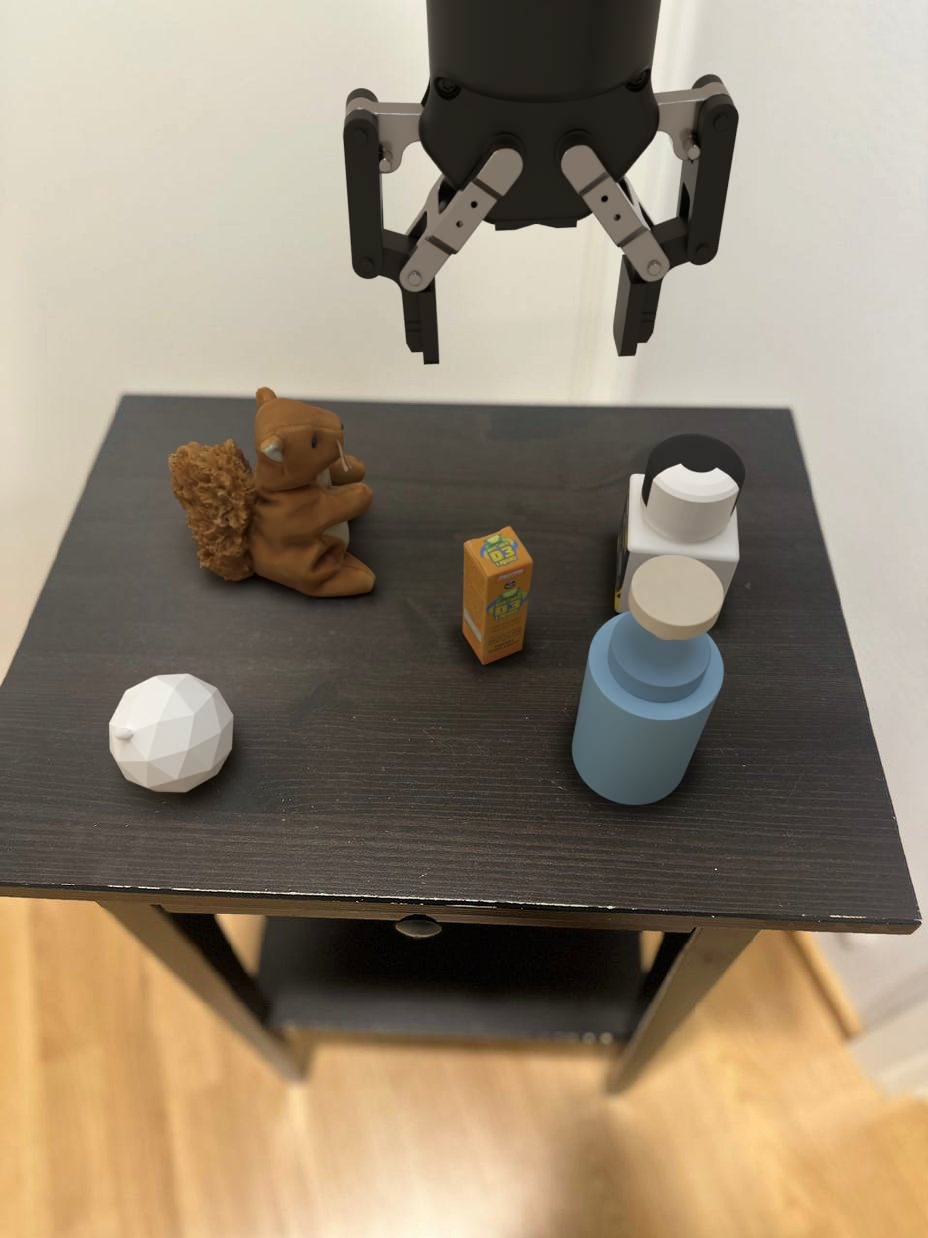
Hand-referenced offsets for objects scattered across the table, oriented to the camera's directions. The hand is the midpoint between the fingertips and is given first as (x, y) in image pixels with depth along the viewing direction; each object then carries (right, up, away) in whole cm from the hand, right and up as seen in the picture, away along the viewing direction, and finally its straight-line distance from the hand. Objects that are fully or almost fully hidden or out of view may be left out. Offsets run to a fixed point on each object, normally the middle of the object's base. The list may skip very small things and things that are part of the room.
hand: (528, 349), depth 38 cm
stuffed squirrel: (-16, -7, +27) cm, 32 cm away
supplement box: (-1, -14, +22) cm, 26 cm away
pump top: (+7, -12, +6) cm, 16 cm away
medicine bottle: (+12, -9, +25) cm, 29 cm away
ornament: (-20, -21, +17) cm, 34 cm away
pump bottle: (+8, -20, +17) cm, 27 cm away
